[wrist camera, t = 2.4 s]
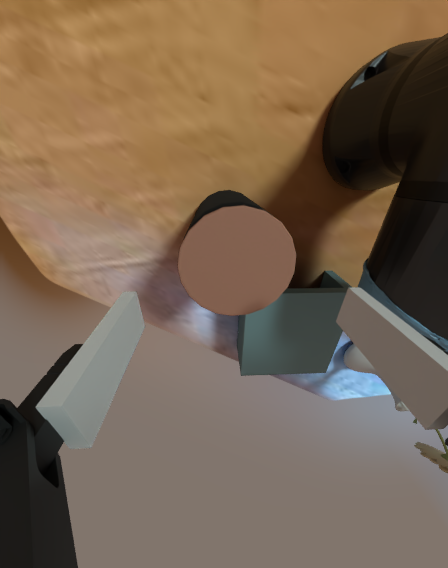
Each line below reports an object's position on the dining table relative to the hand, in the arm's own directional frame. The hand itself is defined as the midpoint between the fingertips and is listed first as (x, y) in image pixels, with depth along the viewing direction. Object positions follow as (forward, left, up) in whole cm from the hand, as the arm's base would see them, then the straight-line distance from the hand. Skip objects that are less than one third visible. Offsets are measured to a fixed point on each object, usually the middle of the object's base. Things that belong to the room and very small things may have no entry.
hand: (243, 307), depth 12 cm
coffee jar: (0, 0, -24) cm, 24 cm away
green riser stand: (+19, +12, -24) cm, 33 cm away
